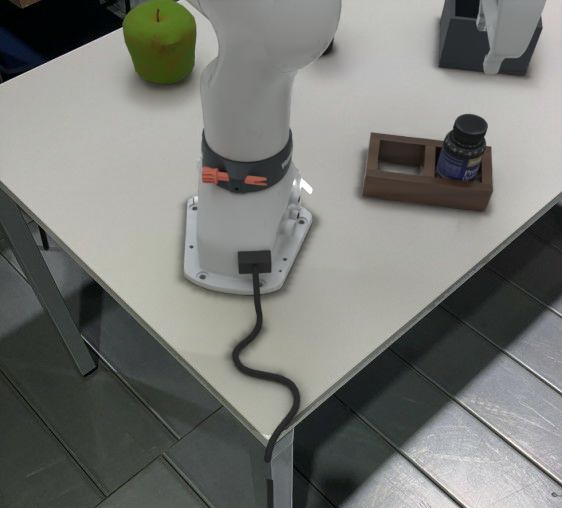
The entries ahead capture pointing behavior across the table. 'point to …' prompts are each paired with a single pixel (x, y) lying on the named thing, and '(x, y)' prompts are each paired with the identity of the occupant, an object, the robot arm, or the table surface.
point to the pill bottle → (463, 149)
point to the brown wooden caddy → (423, 174)
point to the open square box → (474, 40)
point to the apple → (161, 40)
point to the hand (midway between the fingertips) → (485, 49)
